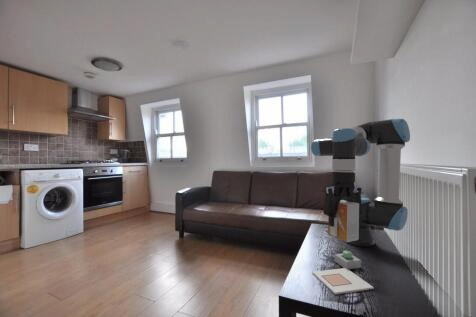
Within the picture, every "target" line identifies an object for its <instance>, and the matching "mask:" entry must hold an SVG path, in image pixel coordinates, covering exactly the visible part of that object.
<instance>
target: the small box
mask: <svg viewBox="0 0 476 317" xmlns="http://www.w3.org/2000/svg"><path fill="white" fill-rule="evenodd" d="M327 217H328V216H327ZM335 217H336V218H337V236H336V237H335V236H333V235H331V234H330V226H329V217H328V219H327V222H328V223H327V226H328V227H327V235H328V236H331V237H334V238H336V239H338V240H341V241H343V242H345V243H347V242H351V241H356V240H359V203H354V202H349V201H346V200H344V199H342V200H340V203H338V209H337V212H336V215H335Z"/></svg>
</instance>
